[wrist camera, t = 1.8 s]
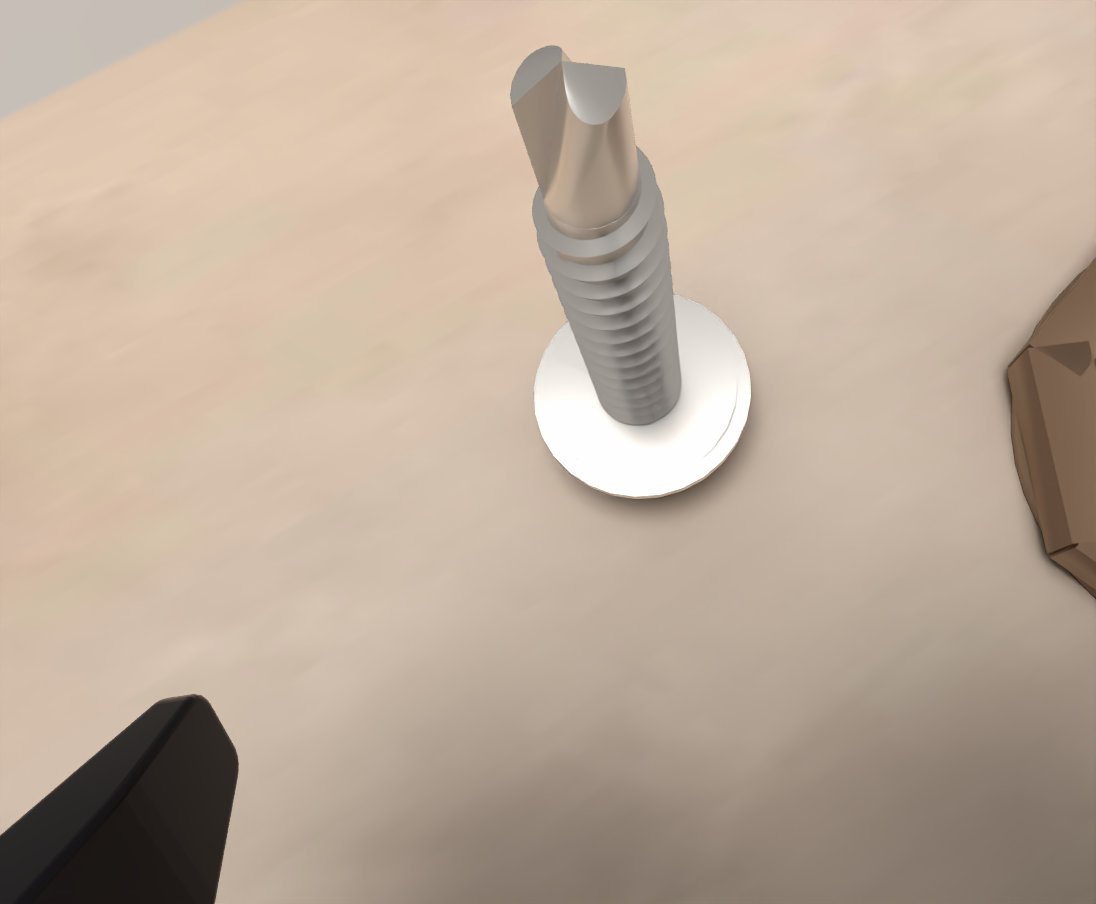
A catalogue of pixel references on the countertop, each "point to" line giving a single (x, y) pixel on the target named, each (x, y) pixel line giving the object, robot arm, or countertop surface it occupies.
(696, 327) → the screw
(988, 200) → the countertop surface
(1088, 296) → the brown wooden tray
